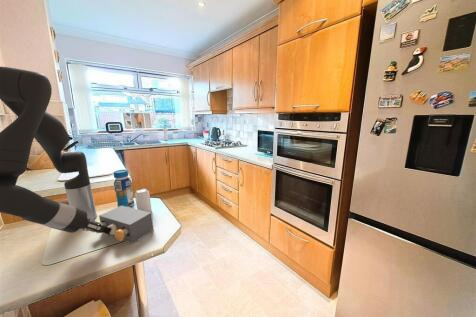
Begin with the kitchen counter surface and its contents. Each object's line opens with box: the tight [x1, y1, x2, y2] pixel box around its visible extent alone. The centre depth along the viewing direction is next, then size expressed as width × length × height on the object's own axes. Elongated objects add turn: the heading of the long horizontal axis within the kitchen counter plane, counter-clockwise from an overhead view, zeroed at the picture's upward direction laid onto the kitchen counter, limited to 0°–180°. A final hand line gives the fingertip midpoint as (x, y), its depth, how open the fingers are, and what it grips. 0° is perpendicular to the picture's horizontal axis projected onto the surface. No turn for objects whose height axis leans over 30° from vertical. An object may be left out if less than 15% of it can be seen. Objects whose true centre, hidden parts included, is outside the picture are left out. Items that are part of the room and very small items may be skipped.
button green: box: [95, 221, 108, 234], centre depth 80 cm, size 4×5×4 cm
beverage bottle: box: [112, 169, 135, 208], centre depth 107 cm, size 8×8×20 cm
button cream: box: [108, 224, 118, 236], centre depth 79 cm, size 4×5×4 cm
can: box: [134, 187, 152, 213], centre depth 99 cm, size 6×6×12 cm
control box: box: [98, 206, 154, 244], centre depth 83 cm, size 19×10×8 cm, turn 66°
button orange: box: [114, 228, 129, 242], centre depth 75 cm, size 4×5×4 cm
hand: (109, 231), depth 76 cm, fingers closed
